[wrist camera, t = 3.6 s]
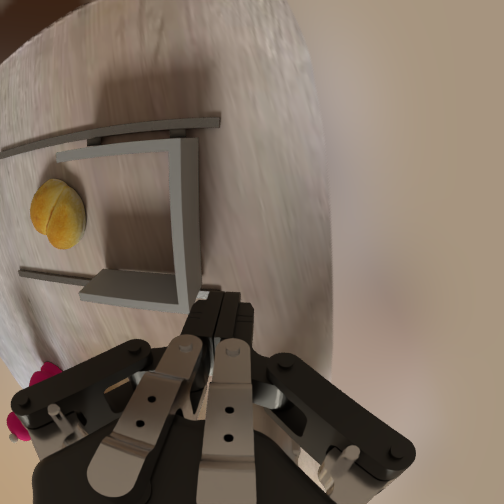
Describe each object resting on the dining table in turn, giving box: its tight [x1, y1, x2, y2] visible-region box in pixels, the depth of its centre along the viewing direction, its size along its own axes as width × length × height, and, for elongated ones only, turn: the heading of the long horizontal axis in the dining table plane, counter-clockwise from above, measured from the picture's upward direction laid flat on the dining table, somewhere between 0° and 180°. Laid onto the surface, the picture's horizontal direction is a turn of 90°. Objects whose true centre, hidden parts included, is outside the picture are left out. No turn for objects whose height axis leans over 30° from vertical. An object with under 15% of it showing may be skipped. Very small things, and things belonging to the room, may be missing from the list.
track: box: [0, 117, 221, 299], centre depth 30 cm, size 34×20×1 cm, turn 88°
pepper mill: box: [7, 362, 62, 443], centre depth 34 cm, size 7×7×20 cm
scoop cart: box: [56, 129, 202, 314], centre depth 27 cm, size 13×18×6 cm
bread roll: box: [30, 179, 86, 249], centre depth 28 cm, size 8×9×4 cm
